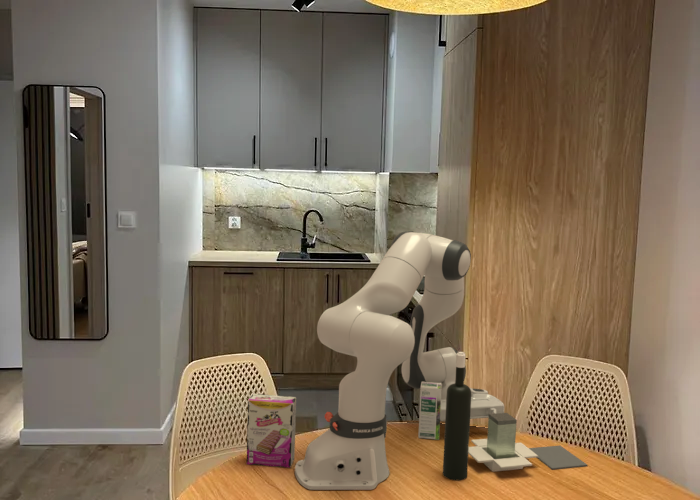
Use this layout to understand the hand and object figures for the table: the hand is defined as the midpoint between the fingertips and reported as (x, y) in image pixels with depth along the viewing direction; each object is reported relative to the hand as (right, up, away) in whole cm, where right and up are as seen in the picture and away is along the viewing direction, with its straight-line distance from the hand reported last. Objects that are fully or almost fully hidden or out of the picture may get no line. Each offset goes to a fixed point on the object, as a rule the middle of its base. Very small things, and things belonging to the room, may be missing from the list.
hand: (480, 419), depth 172 cm
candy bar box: (-54, -7, -14) cm, 56 cm away
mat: (+18, -8, -6) cm, 21 cm away
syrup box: (-13, -6, +6) cm, 16 cm away
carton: (+3, -8, -10) cm, 14 cm away
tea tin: (+3, -8, -10) cm, 14 cm away
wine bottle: (-10, -9, -18) cm, 22 cm away
